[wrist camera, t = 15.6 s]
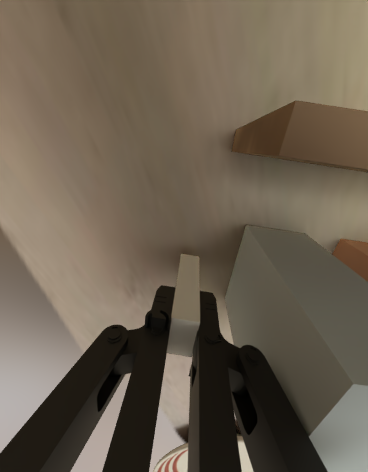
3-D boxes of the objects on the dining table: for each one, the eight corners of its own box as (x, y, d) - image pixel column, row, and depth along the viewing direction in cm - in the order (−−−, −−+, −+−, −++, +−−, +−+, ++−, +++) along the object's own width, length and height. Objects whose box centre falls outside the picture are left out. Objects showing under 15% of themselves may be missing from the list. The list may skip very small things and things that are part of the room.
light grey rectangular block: (246, 224, 16) (353, 383, 5) (305, 233, 16) (532, 408, 5) (224, 298, 20) (263, 490, 9) (273, 305, 20) (374, 504, 9)
